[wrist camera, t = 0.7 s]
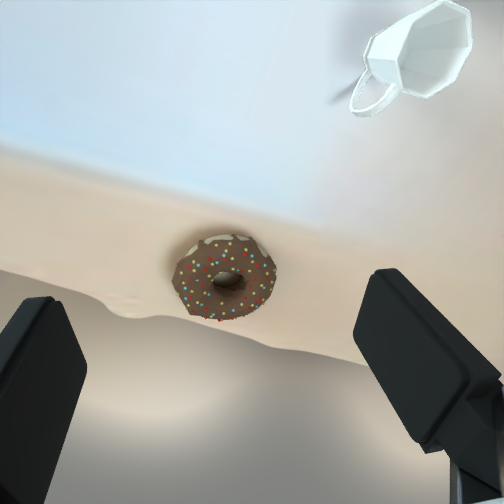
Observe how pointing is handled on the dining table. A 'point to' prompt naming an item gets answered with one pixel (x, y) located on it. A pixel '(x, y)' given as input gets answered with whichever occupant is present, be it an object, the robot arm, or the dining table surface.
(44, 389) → the robot arm
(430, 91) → the cup
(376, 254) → the dining table surface
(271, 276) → the donut
